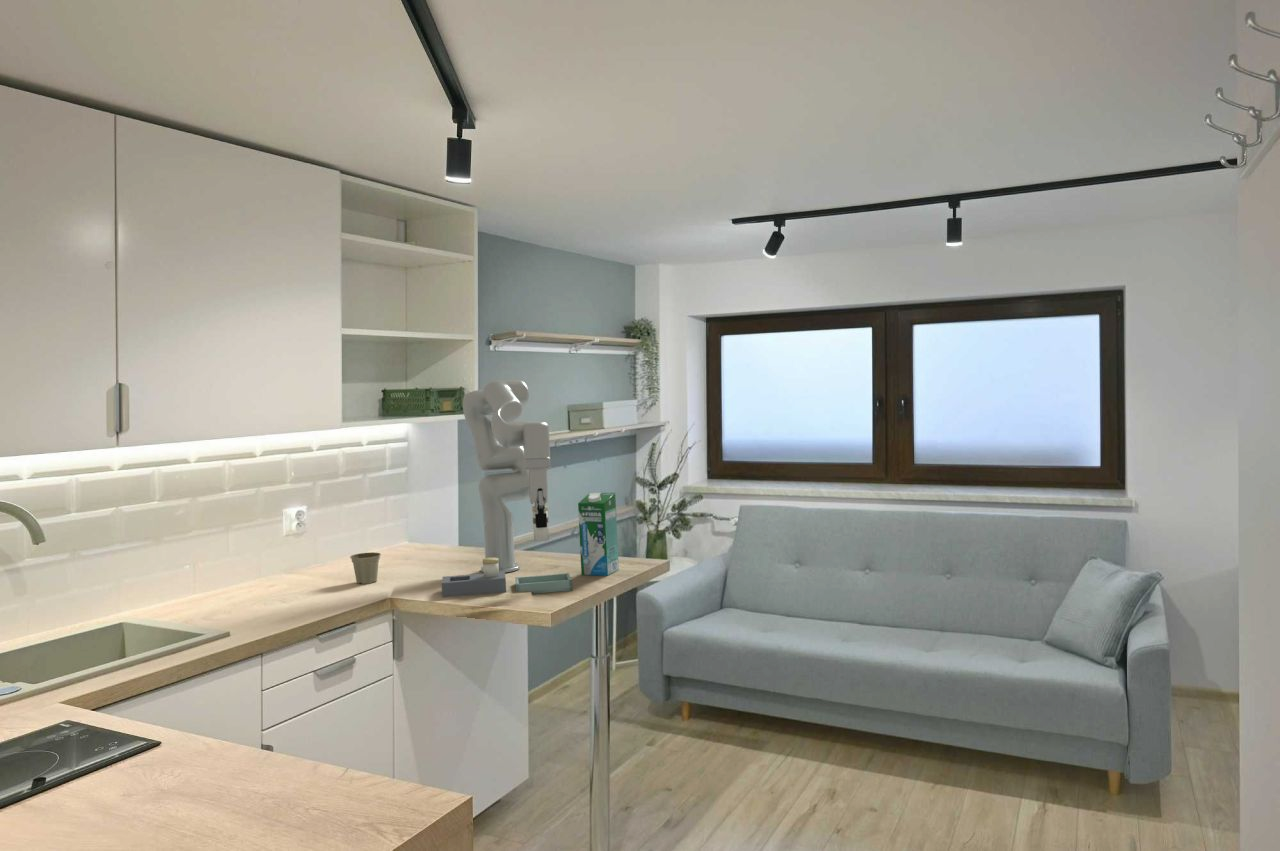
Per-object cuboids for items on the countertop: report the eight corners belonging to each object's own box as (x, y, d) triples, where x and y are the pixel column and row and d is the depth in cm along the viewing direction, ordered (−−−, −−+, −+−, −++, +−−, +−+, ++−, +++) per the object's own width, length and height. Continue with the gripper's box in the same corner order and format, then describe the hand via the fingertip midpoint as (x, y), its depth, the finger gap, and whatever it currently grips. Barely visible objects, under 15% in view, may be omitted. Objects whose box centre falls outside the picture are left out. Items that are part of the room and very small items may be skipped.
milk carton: (581, 574, 279) (577, 495, 278) (593, 568, 287) (589, 492, 286) (607, 575, 275) (603, 495, 274) (618, 569, 284) (615, 492, 283)
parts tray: (515, 587, 265) (515, 577, 265) (569, 583, 268) (568, 573, 268) (517, 594, 255) (516, 584, 255) (572, 590, 258) (571, 580, 258)
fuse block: (443, 593, 261) (442, 559, 260) (505, 588, 264) (504, 555, 263) (442, 600, 252) (440, 565, 252) (506, 595, 255) (504, 561, 255)
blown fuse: (533, 539, 262) (531, 506, 262) (548, 538, 263) (547, 505, 263) (534, 542, 258) (532, 507, 257) (550, 540, 259) (548, 506, 258)
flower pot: (388, 581, 282) (386, 554, 282) (361, 586, 275) (359, 559, 275) (372, 577, 288) (371, 551, 288) (345, 583, 281) (344, 556, 281)
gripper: (523, 462, 267) (526, 523, 268) (526, 467, 251) (529, 531, 251) (548, 461, 269) (551, 521, 269) (552, 465, 252) (556, 529, 253)
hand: (540, 525), depth 260 cm, fingers closed on blown fuse, 4 cm apart
